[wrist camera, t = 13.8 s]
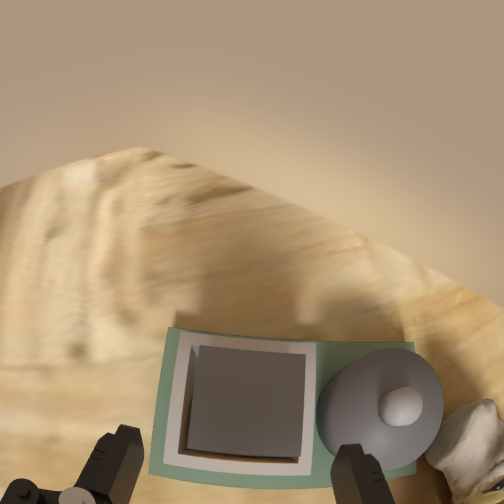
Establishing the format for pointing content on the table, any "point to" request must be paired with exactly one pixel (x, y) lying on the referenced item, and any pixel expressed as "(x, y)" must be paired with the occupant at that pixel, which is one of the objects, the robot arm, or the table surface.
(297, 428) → the orange gray block
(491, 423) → the ceramic sculpture
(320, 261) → the table surface
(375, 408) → the green tray with dome
